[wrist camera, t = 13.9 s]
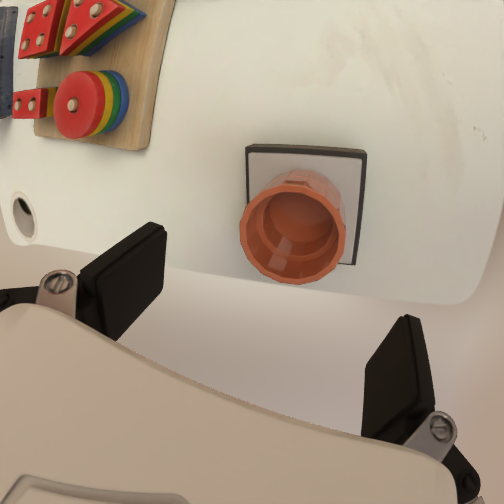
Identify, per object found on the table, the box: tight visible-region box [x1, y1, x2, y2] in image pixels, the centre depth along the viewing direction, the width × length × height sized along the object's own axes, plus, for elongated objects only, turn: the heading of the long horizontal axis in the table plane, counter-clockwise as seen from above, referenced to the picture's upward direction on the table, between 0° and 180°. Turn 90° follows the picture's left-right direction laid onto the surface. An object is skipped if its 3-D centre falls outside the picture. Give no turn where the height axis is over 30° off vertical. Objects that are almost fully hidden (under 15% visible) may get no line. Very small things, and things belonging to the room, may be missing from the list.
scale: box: [245, 144, 367, 265], centre depth 22 cm, size 9×9×3 cm
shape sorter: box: [12, 0, 175, 151], centre depth 19 cm, size 18×17×6 cm
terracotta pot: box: [240, 170, 346, 285], centre depth 19 cm, size 6×6×5 cm
